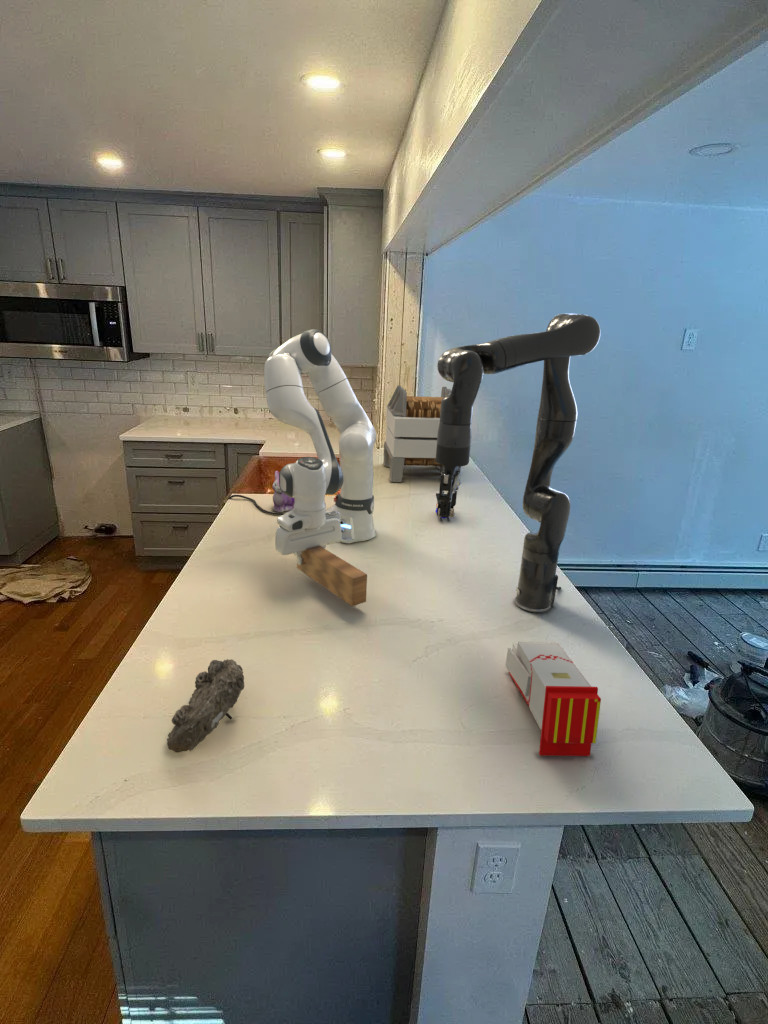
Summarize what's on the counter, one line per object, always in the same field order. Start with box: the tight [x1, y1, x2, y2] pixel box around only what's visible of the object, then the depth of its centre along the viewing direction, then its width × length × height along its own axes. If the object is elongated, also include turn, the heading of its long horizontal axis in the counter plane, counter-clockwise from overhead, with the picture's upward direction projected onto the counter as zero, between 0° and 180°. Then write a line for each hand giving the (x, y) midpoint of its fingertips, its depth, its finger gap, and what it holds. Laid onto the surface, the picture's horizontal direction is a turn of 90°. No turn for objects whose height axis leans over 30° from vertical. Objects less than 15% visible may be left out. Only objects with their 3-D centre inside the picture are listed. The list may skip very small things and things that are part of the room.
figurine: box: [272, 470, 295, 513], centre depth 217 cm, size 9×10×15 cm
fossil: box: [166, 658, 245, 754], centre depth 106 cm, size 22×10×15 cm
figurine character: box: [435, 492, 455, 522], centre depth 217 cm, size 7×8×15 cm
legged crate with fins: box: [383, 384, 452, 483], centre depth 268 cm, size 34×33×41 cm
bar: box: [296, 546, 368, 607], centre depth 154 cm, size 27×4×8 cm, turn 39°
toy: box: [505, 641, 602, 757], centre depth 113 cm, size 12×13×30 cm
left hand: (309, 561), depth 162 cm, fingers closed on bar, 4 cm apart
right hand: (447, 510), depth 132 cm, fingers open, 8 cm apart
